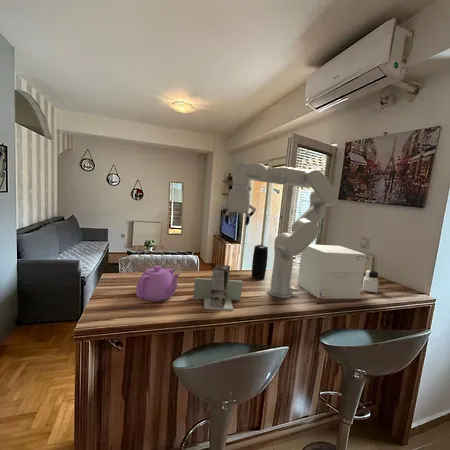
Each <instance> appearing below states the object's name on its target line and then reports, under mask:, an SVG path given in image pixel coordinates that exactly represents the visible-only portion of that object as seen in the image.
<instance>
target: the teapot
mask: <svg viewBox="0 0 450 450" xmlns="http://www.w3.org/2000/svg"><path fill="white" fill-rule="evenodd" d="M180 275H181V273H174V270H173V269H172V268H169V267H167V268H162V266H161V265H158V264H157V265H154V266H153V267H151V268H150V267H149V268H147V269H146V270H145V271H144V272H143V273H142V274H141V276H140V277H139V279H138V280H137V284H136V287H135V292H136V293H135V296H136V297H137V298H141V299H142V300H145V301H148V302H149V301H150V302H161V301H164V300H167V299H170V298H171V297H173V295H174V294H175V293H176V291H177V288H178V277H179V276H180Z"/></svg>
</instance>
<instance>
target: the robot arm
mask: <svg viewBox="0 0 450 450" xmlns="http://www.w3.org/2000/svg"><path fill="white" fill-rule="evenodd" d="M249 180H251V181H255V182H260V183H269V184H275V185H282V186H283V185H284V186H292V187H299V188H305V189H307V188H311V189H312V191H311V193H310V196H309V207H308V209H307V210H306V211H305V212H304V213H303V214H302V215H301V216H300V217H299V218H298V219H297V220H295V221H294V222H293V223H292V225H291V233H292V234H291V233H289V232H281V233H279V234H277V236H276V237H275V239H274V242H273V243H274V245H273V246H274V248H273V249H274V252H273V253H274V257H273V265H272V273H271V274H272V275H271V283H270V287H269V288H267V290H266V291H267V293H268V295H270V296H272V297H276V298H281V299H289V298H292V297H293V292H295V293H299V292H300V289H299V288H300V287H295V286H291V281H292V273H293V265H294V256H295V257H296V256H298V255H301V252H302V251H303V250H304V249H305V248H306V247H308V246H309V245H310V244H312V243H313V242H314V241H315V240H316V239H317V237H318V235H319V233H320V227H319V223H320V222H321V221H322V220H323V219H324V216H325V213H326V207H330V206H333V205H335V204H336V203H337V201H338V195H339V194H338V192H337V190H336V188H335V187H334V186H333V185H332V183H331V181H329V179H328V178H327V177H326V175H325V174H324V173H323V172H322V171H321V170H319V169H309V170H308V169H302V168H296V167H288V166H280V167H266V165H264V164H262V163H259V162H258V163H248V162H243V161H238V162H235V163H234V166H233V177H232V186H231V187H232V189H231V190H230V191H229V195H228V201H227V202H226V203H223V204H221V205H220V209H221V212H222V213H223V214H224V215H225V216H224V222H225V224H226V225H228V224H229V214H230V213H238V214H239V213H240V214H245V215H246V217H245V223H244V225H245V226H246V227H247V226H249V225H248V224H250V218H251V217H252V216H253V215H254V214H255V212H256V211H257V209H256V207H254V206H252V205H251V204H250V192H248V191H251V190H252V187H250V186H249V183H250V182H249ZM225 207H227V208H226V209H227V211H226V210H225ZM249 210H251V211H250V212H249Z"/></svg>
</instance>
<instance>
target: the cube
mask: <svg viewBox="0 0 450 450" xmlns="http://www.w3.org/2000/svg"><path fill="white" fill-rule="evenodd" d="M366 259H367V254H366V253H365V252H364V253H363V252H360V251H358V250H354V249H351V248H348V247H345V246H342V245H331V244H330V245H327V244H326V245H325V244H312V243H311V244H310V245H309V246H308V247H306V248H305V249H304V250H303V251H302V252H301V253H300V261H299V268H298V269H299V270H298V277H297V283H296V284H297V285H298V284H299V285H300V286H299V285H298V286H299V287H301V288H302V287H303V288H302V289H304V290H305V289H306V290H305V291H306V292H308V291H309V292H310V293H309V292H308V293H309V294H310V295H312V294H313V295H312V296H313V297H315V296H316V297H317V299H318V298H322V299H357V298H356V297H360V298H361V292H362V286H363V279H364V272H365V267H366V266H365V265H366ZM316 297H315V298H316Z"/></svg>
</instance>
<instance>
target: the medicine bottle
mask: <svg viewBox="0 0 450 450" xmlns="http://www.w3.org/2000/svg"><path fill="white" fill-rule="evenodd" d="M378 276H379V272H377V271H376V270H373V269H372V270H370V269H368V270H366V272H365V276H363V280H362V286H361V288H362V287H363V289H362V291H363V290H366V291H371V292H376V293H377V294H378V289H379V279H378V278H379V277H378Z"/></svg>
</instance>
